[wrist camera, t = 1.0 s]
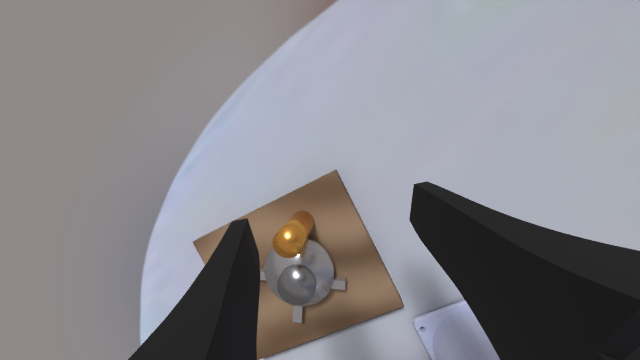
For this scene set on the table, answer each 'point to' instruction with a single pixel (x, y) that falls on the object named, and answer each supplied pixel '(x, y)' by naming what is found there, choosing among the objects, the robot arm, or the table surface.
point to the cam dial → (300, 266)
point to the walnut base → (348, 255)
